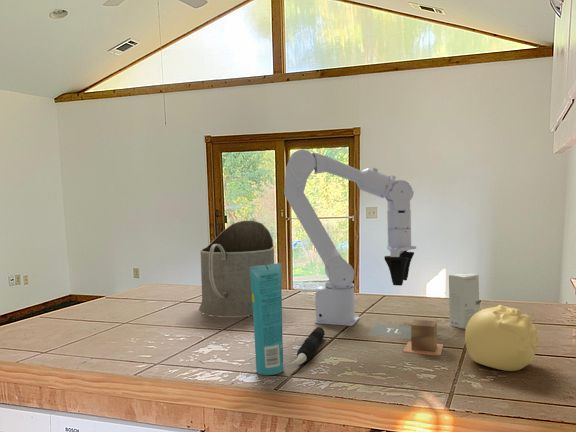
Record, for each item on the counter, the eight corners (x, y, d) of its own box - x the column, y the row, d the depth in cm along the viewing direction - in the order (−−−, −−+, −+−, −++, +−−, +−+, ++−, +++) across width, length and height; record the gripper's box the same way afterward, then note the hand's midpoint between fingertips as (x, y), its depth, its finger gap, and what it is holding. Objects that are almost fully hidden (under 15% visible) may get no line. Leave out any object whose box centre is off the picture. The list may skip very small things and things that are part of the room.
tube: (272, 362, 88) (270, 261, 88) (292, 367, 85) (290, 263, 85) (245, 374, 83) (242, 266, 82) (265, 380, 80) (262, 268, 79)
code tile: (366, 335, 105) (366, 334, 105) (376, 324, 114) (376, 323, 114) (412, 339, 101) (412, 338, 101) (418, 327, 110) (418, 326, 110)
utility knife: (304, 374, 82) (304, 357, 82) (282, 373, 83) (282, 356, 83) (325, 339, 103) (325, 325, 103) (308, 338, 104) (308, 325, 104)
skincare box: (464, 329, 107) (463, 277, 107) (448, 325, 111) (447, 274, 111) (481, 325, 111) (480, 274, 110) (464, 321, 114) (463, 272, 114)
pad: (403, 352, 92) (403, 351, 92) (408, 342, 99) (408, 341, 99) (440, 356, 90) (440, 354, 90) (443, 345, 96) (443, 344, 96)
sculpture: (536, 382, 76) (535, 316, 76) (459, 369, 82) (458, 308, 82) (541, 360, 86) (540, 302, 85) (472, 351, 92) (471, 296, 92)
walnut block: (411, 349, 93) (411, 324, 93) (414, 343, 97) (414, 319, 97) (434, 352, 91) (434, 326, 91) (436, 345, 95) (436, 321, 95)
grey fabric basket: (287, 300, 145) (285, 219, 144) (256, 327, 114) (253, 225, 114) (217, 298, 151) (215, 221, 150) (170, 324, 120) (166, 226, 119)
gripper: (411, 230, 109) (412, 288, 109) (419, 226, 122) (420, 278, 122) (381, 230, 111) (382, 287, 112) (392, 226, 125) (393, 277, 125)
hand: (400, 282), depth 117 cm, fingers open, 7 cm apart
